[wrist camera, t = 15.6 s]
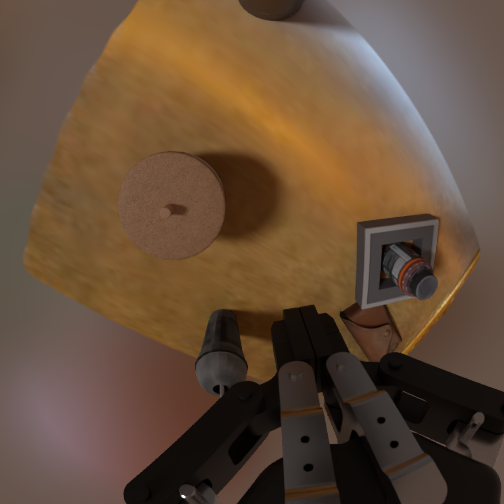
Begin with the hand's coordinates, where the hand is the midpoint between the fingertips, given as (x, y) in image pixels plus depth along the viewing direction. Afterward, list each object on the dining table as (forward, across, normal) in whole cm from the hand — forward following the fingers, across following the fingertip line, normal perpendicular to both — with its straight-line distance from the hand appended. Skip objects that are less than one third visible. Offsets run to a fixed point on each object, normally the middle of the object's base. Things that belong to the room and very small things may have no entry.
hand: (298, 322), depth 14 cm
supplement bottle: (+29, -22, +13) cm, 39 cm away
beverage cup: (+29, +8, +20) cm, 36 cm away
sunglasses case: (+30, -20, +28) cm, 45 cm away
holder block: (+29, -22, +13) cm, 39 cm away
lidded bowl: (+29, +10, -2) cm, 31 cm away
